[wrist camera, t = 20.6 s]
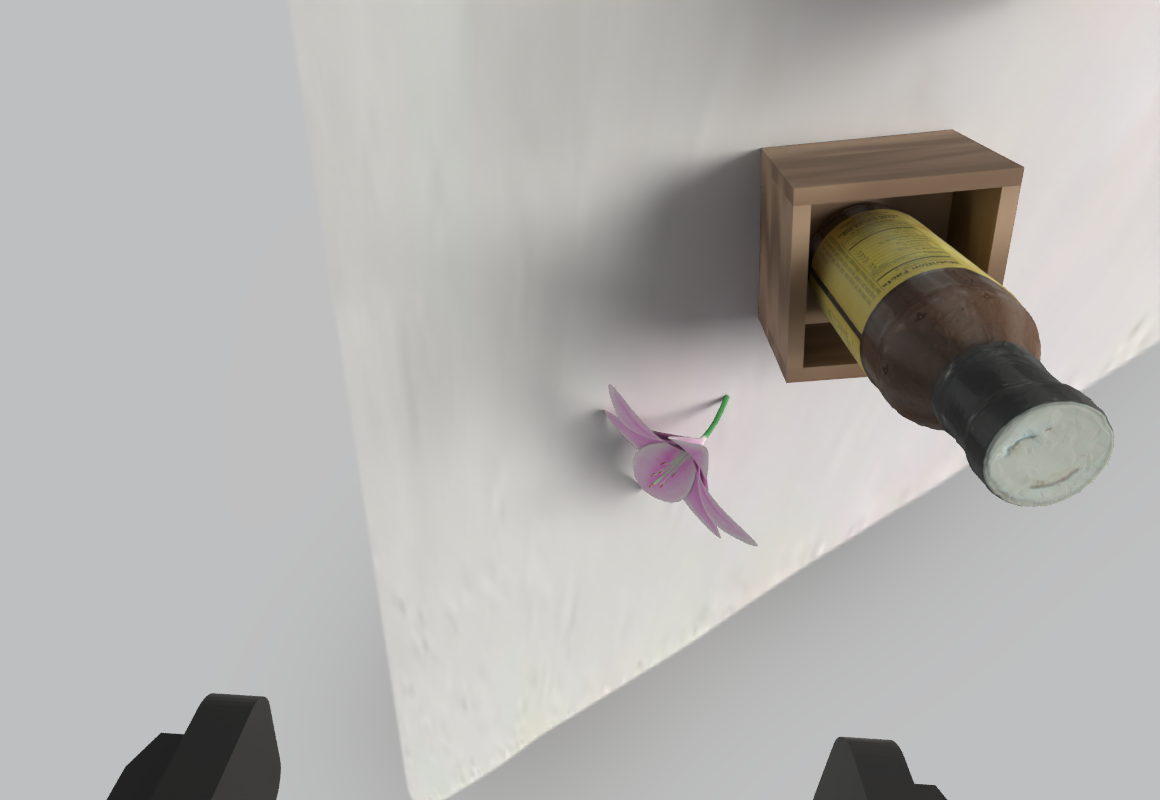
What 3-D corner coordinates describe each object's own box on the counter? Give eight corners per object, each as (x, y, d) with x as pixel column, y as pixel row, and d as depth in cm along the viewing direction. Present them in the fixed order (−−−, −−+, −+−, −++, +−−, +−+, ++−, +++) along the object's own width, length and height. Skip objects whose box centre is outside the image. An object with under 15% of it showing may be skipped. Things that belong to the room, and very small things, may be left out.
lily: (615, 309, 48) (550, 424, 42) (808, 349, 44) (765, 480, 39) (627, 432, 57) (575, 540, 51) (789, 474, 53) (752, 596, 47)
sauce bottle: (903, 310, 43) (1106, 552, 26) (790, 305, 43) (919, 545, 26) (934, 194, 40) (1189, 384, 23) (812, 189, 40) (975, 376, 23)
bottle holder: (761, 148, 42) (794, 188, 35) (952, 129, 41) (1024, 167, 34) (758, 318, 47) (786, 382, 40) (929, 303, 46) (987, 367, 39)
